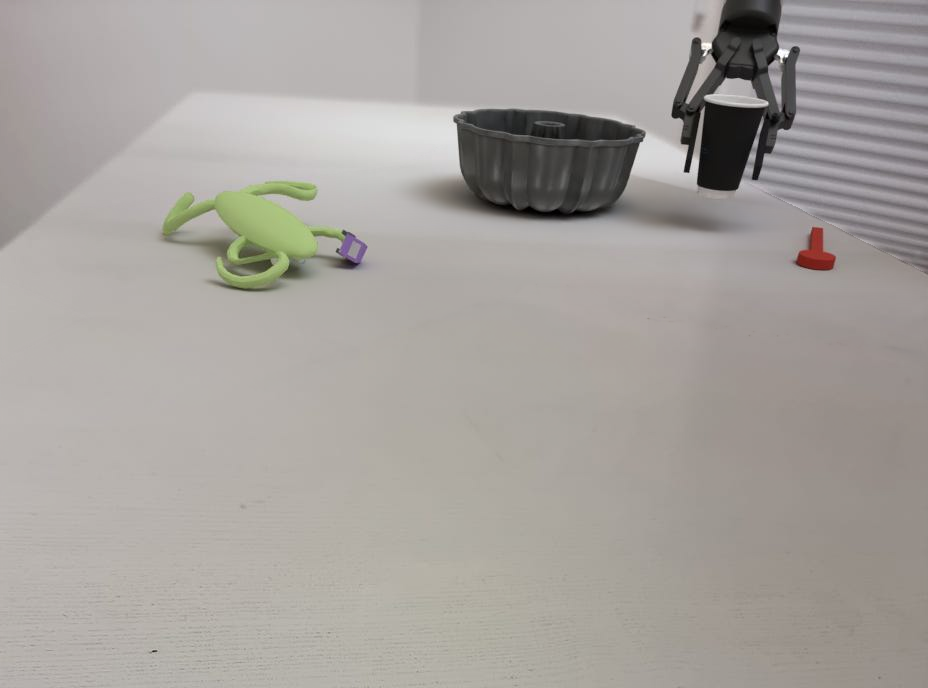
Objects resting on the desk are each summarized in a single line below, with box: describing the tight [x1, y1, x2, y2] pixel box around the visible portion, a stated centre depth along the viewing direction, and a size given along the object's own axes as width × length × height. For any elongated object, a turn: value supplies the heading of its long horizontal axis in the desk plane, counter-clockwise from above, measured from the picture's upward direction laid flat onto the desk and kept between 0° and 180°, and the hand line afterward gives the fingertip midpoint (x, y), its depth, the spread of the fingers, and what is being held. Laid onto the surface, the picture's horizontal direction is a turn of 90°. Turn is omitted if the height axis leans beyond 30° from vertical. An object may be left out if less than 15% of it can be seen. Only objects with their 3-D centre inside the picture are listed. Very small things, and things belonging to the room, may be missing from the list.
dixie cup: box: [696, 93, 768, 200], centre depth 117 cm, size 8×8×11 cm
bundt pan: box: [452, 108, 647, 215], centre depth 127 cm, size 26×26×10 cm
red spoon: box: [796, 226, 837, 271], centre depth 117 cm, size 4×18×1 cm, turn 162°
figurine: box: [161, 180, 369, 290], centre depth 101 cm, size 18×27×6 cm
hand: (722, 169), depth 116 cm, fingers closed on dixie cup, 8 cm apart
